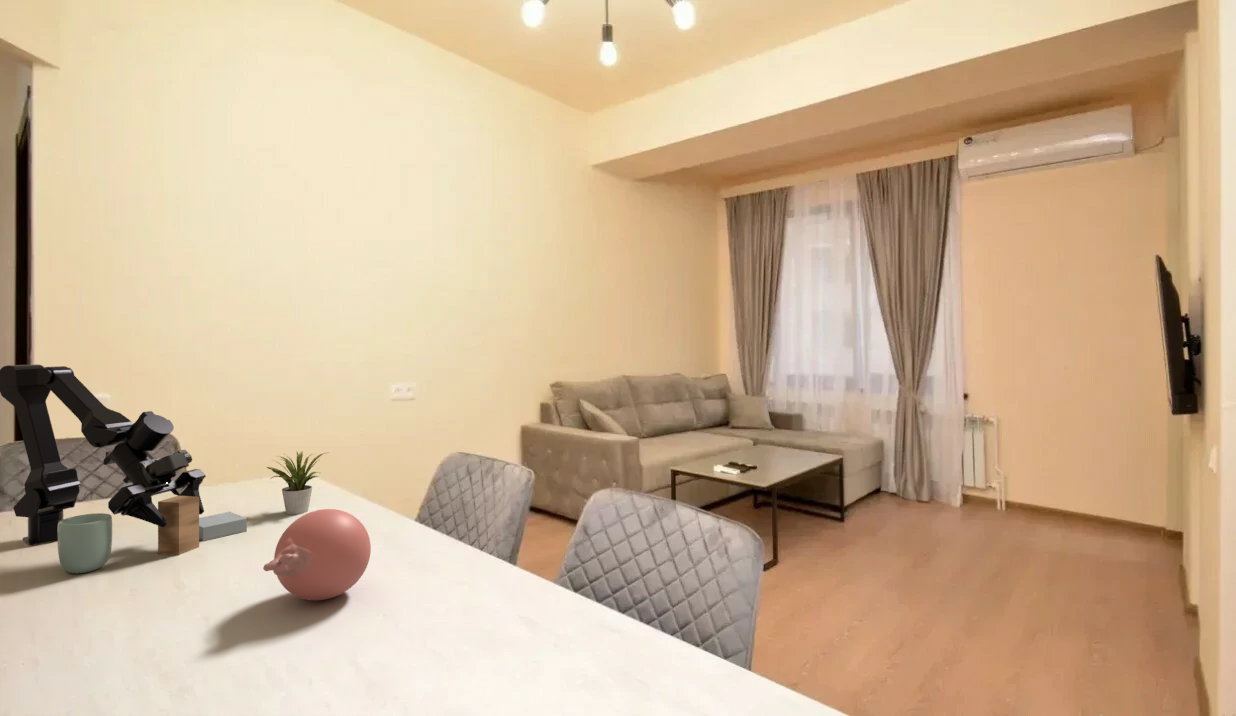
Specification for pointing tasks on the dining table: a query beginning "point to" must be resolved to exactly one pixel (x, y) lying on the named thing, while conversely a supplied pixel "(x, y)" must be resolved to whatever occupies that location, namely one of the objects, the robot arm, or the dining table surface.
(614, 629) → the dining table surface
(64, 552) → the cup
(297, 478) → the house plant
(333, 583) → the balloon
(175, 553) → the wooden block
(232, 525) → the pedestal
